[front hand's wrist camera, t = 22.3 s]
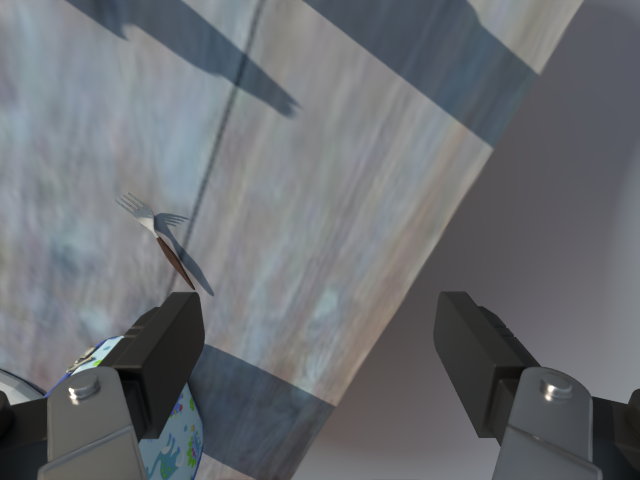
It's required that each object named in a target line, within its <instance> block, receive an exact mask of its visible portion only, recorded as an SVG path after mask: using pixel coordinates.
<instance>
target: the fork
mask: <svg viewBox="0 0 640 480" xmlns="http://www.w3.org/2000/svg"><path fill="white" fill-rule="evenodd" d="M127 193H128V194H129V195H131V194H130V193H129V192H127ZM123 196H124V197H126V196H125V195H123ZM131 196H132V197H133V198H134V199H135V200H137V201H138V202H139V203H140V204H141V205H142V206H143V207H141V206H139V205H138V204H136V203H135V202H134V201H132V200H131V199H129V198H128V197H126V198H127V199H128V200H129V201H131V202H132V203H133V204H134V205H135V206H136V207H137V208H138V209H136V208H134V207H133V206H132V205H130V204H129V203H127V202H126V201H124V200H123V199H121V198H120V197H119V199H121V200H122V201H123V202H125V203H126V204H127V205H128V206H129V207H131V208H132V209H133V210H134V212H133V211H131V210H130V209H128V208H127V207H125V206H124V205H122V204H121V203H119V202H118V201H116V200H115V199H114V201H116V202H117V203H118V204H120V205H121V206H122V207H123V208H125V209H126V210H127V211H128V212H129V213H130V214H131V215H132V216H133V217H134V218H135V219H136V220H138V221H139V222H140V223H141V224H143V225H144V226H146V227H147V228H148V229H150V230H151V231H152V233H153V234H154V235H155V237H156V239H157V241H158V243H159V244H160V246H161V248H162V250H163V252H164V254H165V255H166V257H167V258H168V260H169V261H170V263H171V264H172V265H173V266H174V267H175V269H176V270H177V271H178V272H179V273H180V274H181V276H182V277H183V278H184V279H185V281H186V282H187V283H188V284H189V285H190V286H191V288H192V289H193V290H195V288H194V286H193V284H192V282H191V281H190V279H189V277H188V276H187V274H186V272H185V271H184V269H183V267H182V265H181V263H180V261H179V260H178V258H177V257H176V255H175V254H174V253H173V251H172V250H171V249H170V248H169V247H168V246H167V244H166V243H165V242H164V241H163V240H162V239H161V238H160V236H159V235H158V234H157V233H156V231H155V228H154V215H153V212H152V211H151V209H150V208H149V207H147V206H146V205H145V204H144V203H142V202H141V201H140V200H138V199H137V198H136V197H134V196H133V195H131Z"/></svg>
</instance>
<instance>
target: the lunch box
mask: <svg viewBox="0 0 640 480" xmlns="http://www.w3.org/2000/svg"><path fill="white" fill-rule="evenodd" d="M121 338H124V336H120V337H111V338H109V339H106V340H104V341H102V342H100V343H99V344H97V345H96V346H90V347H89V348H88V349H87V350H86V351H85V352H84V353H83V354H82V355H81V356H80V358H79V359H78V360H77V361H76V362H75V364H74V365H72V366H70V367H69V368H68V371H66V372H67V374H66V375H65V376H64V377H63V378H62V379H61V380H60V381H59V382H58V383H57V384H56V385H55V386H54V387H53V388H52V389H51V390H50V391H49V392H48V393H47V394H46V395H45V396H44V397H43V398H45V397H49V394H50V393H51V391H52V390H53V389H54V388H55V387H56V386H57V385H58V384H59V383H60V382H62V381H63V380H65V379H66V378H68V377H69V376H71V375H73V374H75V373H77V372H80V371H82V370H85V369H89V368H93V367H97V366H98V364H99V363H100V362H101V361H102V360H103V359H104V358H105V356H106V355H107V354H108V353H109V352H110V351H111V350H112V348H113V347H114V346H115V345H116V344H117V343H118V342H119V340H120V339H121ZM203 437H204V433H203V422H202V419H201V416H200V414H199V411H198V409H197V407H196V404H195V402H194V400H193V397H192V395H191V392H190V390H189V387H188V384H187V382H186V384H185V386H184V388H183V391H182V393H181V395H180V397H179V399H178V401H177V403H176V405H175V407H174V409H173V411H172V413H171V415H170V417H169V419H168V421H167V423H166V425H165V427H164V429H163V431H162V433H161V435H160V437H159V439H141V441H140V443H139V448H140V452H141V455H142V459H143V463H144V466H145V470H146V473H147V477H148V480H194V479H195V476H196V473H197V470H198V467H199V463H200V460H201V456H202V451H203Z"/></svg>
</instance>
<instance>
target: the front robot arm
mask: <svg viewBox="0 0 640 480" xmlns="http://www.w3.org/2000/svg"><path fill="white" fill-rule="evenodd" d="M204 340H205V331H204V324H203V317H202V310H201V303H200V297H199V294H198V293H197V292H173V293H171V294H170V296H169V297H168V298H167V299H166V300H165V302H164V303H163V304H162V305H161V307H155V308H153V309H151V310H150V311H148V312H147V313H145V314H143V315H142V316H141V317H140V318H139V319H138V320H137V321H136V322H135V323H134V325H133V326H132V328H131V329H129V330H128V331H127V333H126V334H125V335H124V338H121V339H120V340H119V342H118V343H117V344H116V345H115V346H114V347H113V348H112V350H111V351H110V352H109V353H108V354H107V355H106V356H105V358H104V359H103V360H102V361H101V362H100V363H99V364H98V366H97V367H93V368H89V369H85V370H82V371H80V372H77V373H75V374H73V375H71V376H69V377H68V378H66V379H65V380H63V381H62V382H60V383H59V384H58V385H57V386H56V387H55V388H54V389H53V390H52V391H51V393H50V394H49V397H45V398H41V399H36V400H32V401H27V402H23V403H18V404H14V405H10V402H9V400H8V397H7V395H6V393H5V392H3V391H1V390H0V480H148V477H147V473H146V470H145V466H144V463H143V459H142V455H141V452H140V448H139V443H140V441H141V439H159V437H160V435H161V433H162V431H163V429H164V427H165V425H166V423H167V421H168V419H169V417H170V415H171V413H172V411H173V409H174V407H175V405H176V403H177V401H178V399H179V397H180V395H181V393H182V391H183V388H184V386H185V384H186V382H187V380H188V378H189V376H190V374H191V372H192V370H193V368H194V366H195V364H196V362H197V360H198V358H199V356H200V354H201V352H202V350H203V346H204ZM434 344H435V348H436V351H437V353H438V355H439V357H440V359H441V361H442V363H443V365H444V367H445V369H446V371H447V373H448V375H449V377H450V380H451V382H452V384H453V386H454V388H455V390H456V392H457V394H458V396H459V398H460V400H461V402H462V404H463V406H464V408H465V410H466V412H467V414H468V416H469V418H470V420H471V423H472V425H473V427H474V429H475V431H476V433H477V435H478V437H479V438H496V439H497V441H498V443H499V445H500V447H501V448H500V452H499V456H498V459H497V463H496V466H495V470H494V473H493V477H492V480H640V389H637V390H635V391H634V392H633V393H632V395H631V398H630V400H629V402H628V404H624V403H619V402H615V401H611V400H606V399H602V398H597V397H593V396H591V395H590V393H589V391H588V390H587V389H586V388H585V387H584V386H583V385H582V384H581V383H580V382H578V381H577V380H575V379H574V378H572V377H571V376H569V375H567V374H565V373H563V372H560V371H558V370H555V369H551V368H547V367H541V366H540V364H539V363H538V362H537V361H536V360H535V359H534V358H533V356H532V355H531V354H530V353H529V352H528V351H527V350H526V348H525V347H524V346H523V345H522V344H521V343H520V341H519V340H518V339H517V338H516V337H514V335H513V333H512V332H511V331H510V330H509V329H508V328H506V325H505V324H504V323H503V322H502V321H501V320H500V318H499V317H498V316H497V315H495V314H494V313H492V312H491V311H489V310H487V309H486V308H484V307H482V306H477V305H476V304H475V303H474V301H473V300H472V299H471V298H470V296H469V295H468V294H467V293H466V292H464V291H442V292H441V293H440V294H439V297H438V304H437V311H436V318H435V325H434Z"/></svg>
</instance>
